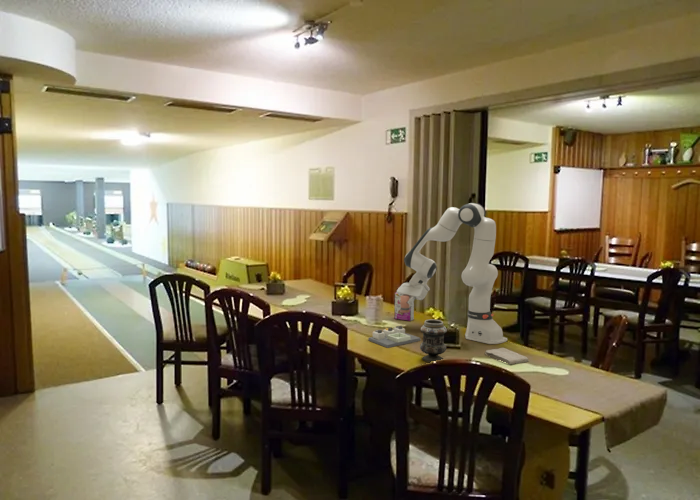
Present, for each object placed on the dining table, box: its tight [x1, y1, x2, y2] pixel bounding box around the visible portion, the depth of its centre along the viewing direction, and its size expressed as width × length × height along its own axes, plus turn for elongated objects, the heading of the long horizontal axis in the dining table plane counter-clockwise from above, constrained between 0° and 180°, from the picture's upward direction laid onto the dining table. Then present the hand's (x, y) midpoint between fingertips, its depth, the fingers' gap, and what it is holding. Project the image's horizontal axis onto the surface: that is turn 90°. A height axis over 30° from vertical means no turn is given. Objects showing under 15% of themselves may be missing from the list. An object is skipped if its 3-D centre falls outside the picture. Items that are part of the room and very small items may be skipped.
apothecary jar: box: [419, 318, 448, 363], centre depth 231 cm, size 12×12×18 cm
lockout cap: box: [400, 295, 410, 313], centre depth 281 cm, size 5×5×9 cm
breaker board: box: [367, 325, 421, 349], centre depth 262 cm, size 16×22×6 cm
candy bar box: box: [394, 292, 415, 322], centre depth 307 cm, size 11×5×16 cm, turn 58°
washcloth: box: [484, 347, 529, 365], centre depth 233 cm, size 12×18×3 cm, turn 25°
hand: (404, 302), depth 281 cm, fingers closed on lockout cap, 5 cm apart
